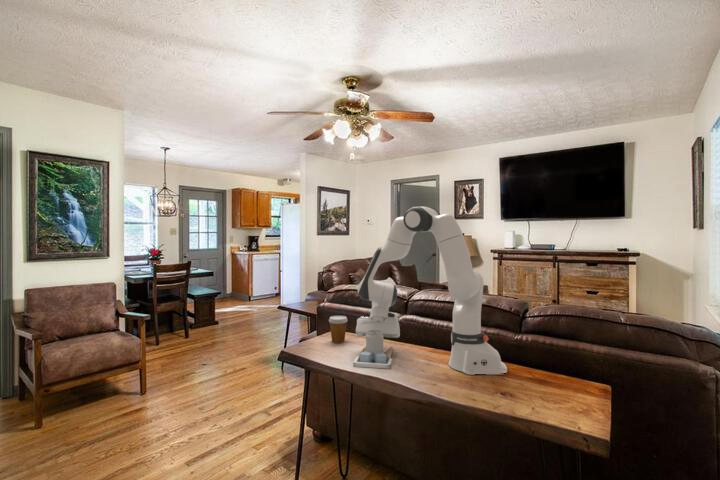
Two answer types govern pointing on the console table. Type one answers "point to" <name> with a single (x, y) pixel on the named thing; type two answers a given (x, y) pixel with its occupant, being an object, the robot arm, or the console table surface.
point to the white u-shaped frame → (372, 364)
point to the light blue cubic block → (366, 357)
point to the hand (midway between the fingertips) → (376, 344)
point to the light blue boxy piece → (380, 358)
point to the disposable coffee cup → (338, 328)
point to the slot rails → (388, 354)
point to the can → (374, 341)
